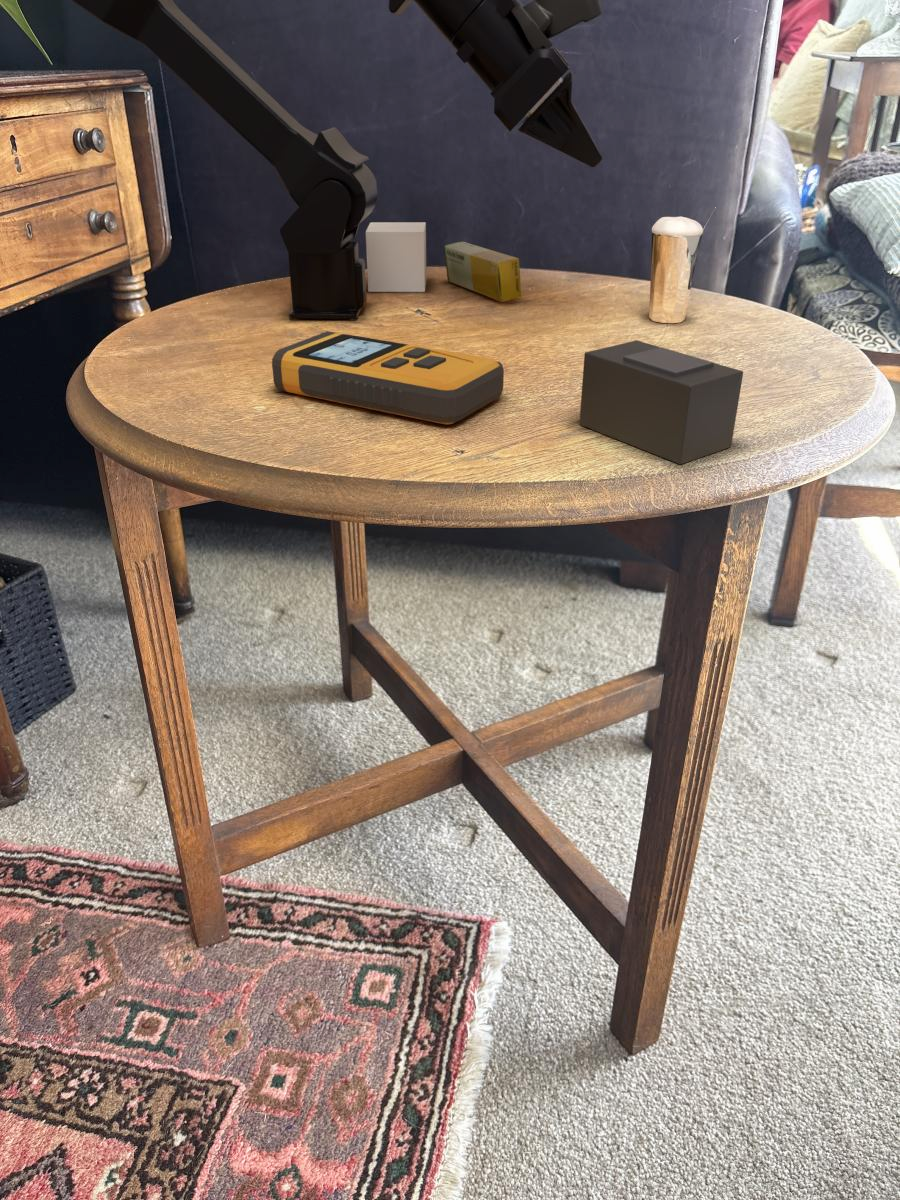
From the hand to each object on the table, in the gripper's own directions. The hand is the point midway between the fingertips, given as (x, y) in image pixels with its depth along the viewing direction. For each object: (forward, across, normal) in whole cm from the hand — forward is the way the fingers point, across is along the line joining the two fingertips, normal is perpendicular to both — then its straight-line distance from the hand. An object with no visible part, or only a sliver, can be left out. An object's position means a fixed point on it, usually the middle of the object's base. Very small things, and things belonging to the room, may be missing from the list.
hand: (598, 163), depth 82 cm
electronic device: (-1, -24, +20) cm, 32 cm away
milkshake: (+15, +1, +4) cm, 16 cm away
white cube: (-4, +12, +24) cm, 27 cm away
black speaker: (+8, -27, +7) cm, 30 cm away
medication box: (+2, +10, +17) cm, 20 cm away
